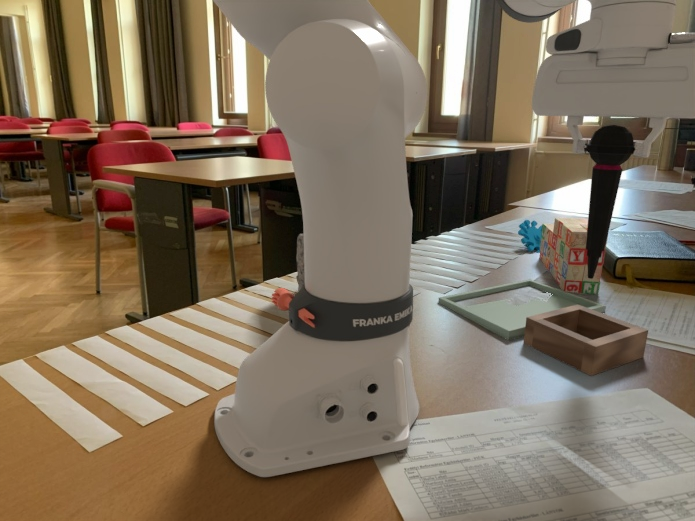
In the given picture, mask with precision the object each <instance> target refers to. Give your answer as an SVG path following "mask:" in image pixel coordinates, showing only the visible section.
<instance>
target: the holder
mask: <svg viewBox="0 0 695 521" xmlns="http://www.w3.org/2000/svg"><path fill="white" fill-rule="evenodd" d="M648 334H649V329H647V328H643V327H640V326H638V325H635V324H632V323H629V322H627V321H624V320H622V319H619V318H616V317H613V316H611V315H608V314H606V313H605V314H603V313H600V312H597V311H595V310H592V309H589V308H586V307H584V306H581V305H578V304H577V305H573V306H569V307H565V308H561V309H557V310H553V311H549V312H545V313H541V314H537V315H533V316H529V317H526V326H525V335H524V336H523V344H525V345H527V346H529V347H531V348H532V349H535V350H537V351H539V352H541V353H543V354H545V355H548V356H549V357H552V358H554V359H556V360H558V361H560V362H562V363H564V364H566V365H568V366H570V367H572V368H574V369H576V370H578V371H580V372H582V373H583V374H584V373H585V374H587V375H589V376H591V377H592V376H595V375H597V374H600V373H603V372H606V371H609V370H612V369H614V368H617V367H619V366H623V365H626V364H628V363H631V362H634V361H636V360H637V361H638V360H639V359H642V358H644V356H645V352H646V346H647V340H648Z"/></svg>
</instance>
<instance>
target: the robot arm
mask: <svg viewBox="0 0 695 521" xmlns="http://www.w3.org/2000/svg"><path fill="white" fill-rule="evenodd" d="M212 1H213V3H214V4H215V5H216V7H218V9H219V10H220V11H221V12H222V14H223V16H225V18H226V19H227V20H228V22H229V23H230V24H231V25H232V27H233V28H234V29H235V31H236V32H237V33H238V34H239V35H240V36H241V37H242V38H243V39H244V40H245V41H247V42H248V43H249V44H250V45H251V46H253V47H254V48H255V49H256V50H258V51H259V52H260V53H261V54H262V55H263V56H265V57H266V58H267V59H268V60H269V62H268V64H267V65H268V66H267V68H266V74H265V80H264V81H265V84H264V86H265V89H264V90H265V98H266V103H267V108H268V110H269V112H270V114H271V116H272V119H273V121H274V123H275V124H276V125H277V127H278V129H279V130H280V131H281V133H282V134H283V136H284V139H285V141H286V145H287V148H288V151H289V154H290V155H289V156H290V161H291V164H292V167H293V172H294V177H295V180H296V185H297V190H298V195H299V199H300V206H301V212H302V213H301V214H302V222H303V226H302V227H303V233H304V270H305V282H304V283H303V285H302V286H301V288H300V291H299V292H298V291H297V293H296V294H295V295H294V294H293V293H291V292H289V290H288V289H286V288H284V287H279V288H276V289H275V290H273V293H272V294H271V296H272V297H271V298H270V299H271V302H272V303H273V304H274V306H277V307H278V309H279V310H281V311H283V312H284V311H288V321H287V322H286V323H284V324H283V325H282V326H281V327H280V328H279V329H278V330H276V331H275V332H274V333H273V334H272V335H271V336H270V337H269V338H267V340H266V341H264V342H263V343H262V344H261V345H259V346H258V347H257V348H256V349H255V350H254V351H252V352H251V353H250V354H249V355H248V356H246V358H244V359H243V360H242V362H241V364H240V365H239V369H238V373H237V377H236V381H235V388H234V389H235V390H234V393H232V394H230V395H227V396H224V397H222V398H221V399H220V400H219V401H218V403H217V405H216V407H215V409H214V418H213V420H214V421H213V423H214V431H215V433H216V436H217V439H218V441H219V443H220V445H221V447H222V448H223V450H224V452H225V453H226V454H227V455H228V457H229V458H230V459H231V460H232V461H233V462H234V463H235V464H236V465H237V466H238V467H240V468H241V469H243V470H244V471H247V472H248V473H250V474H252V475H254V476H257V477H259V478H270V477H275V476H279V475H285V474H289V473H295V472H301V471H303V470H309V469H315V468H319V467H324V466H328V465H333V464H339V463H344V462H350V461H354V460H359V459H363V458H368V457H373V456H377V455H383V454H384V455H385V454H388V453H391V452H392V453H393V452H397V451H401V450H405V449H407V448H408V447H409V446H410V444H411V432H410V431H411V427H412V426H413V424H414V423H415V421H416V419H417V418H418V415H419V412H420V404H419V403H420V402H419V399H418V396H417V392H416V387H415V384H414V378H413V372H412V371H413V370H412V362H411V352H410V351H411V350H410V349H411V348H410V329H409V328H410V325H411V324H412V322H413V316H414V288H413V286H412V284H411V282H410V281H411V260H412V259H411V258H412V240H413V239H412V237H413V235H412V233H413V217H414V215H413V209H412V206H411V200H410V191H409V183H408V181H409V180H408V172H407V170H408V169H407V154H406V138H407V137H408V136H410V134H411V133H412V132H413V131H414V130H415V129H416V127H417V126H418V125H419V124H420V122H421V120H422V118H423V116H424V114H425V111H426V106H427V102H428V82H427V79H426V75H425V73H424V70H423V68H422V66H421V64H420V63H419V61H418V59H417V58H416V57H415V55H414V54H413V53H412V52H411V51H410V50H409V48H408V47H407V46H406V45H405V43H404V42H403V41H402V39H401V38H400V37H399V36H398V35H397V33H396V31H394V30H393V29H392V27H391V26H390V25H389V24H388V23H387V21H386V20H385V19H384V17H382V15H381V14H380V13H379V12H378V10H377V9H376V8H375V7H374V6H373V5H372V4H371V2H370V1H369V0H212ZM495 1H496V2H497V4H498V5H499V7H500V8H501V10H502V11H503V12H504V13H505V14H507V16H509V17H510V18H512V19H513V20H515V21H518V22H521V23H531V24H532V23H539V22H542V21H544V20H546V19H549V18H551V17H553V15H555V14H556V13H558V12H559V11H560V10H561V9H563V8H565V7H567V6H569V5H571V4H572V3H575V2H576V1H577V0H495ZM587 1H588V2H589V3H590V6H591V7H590V15H589V20H586V21H584V22H581V23H579V24H577V25H575V26H574V25H573V26H572V27H569V28H567V29H564V30H561V31H559V32H557V33H553V34H552V35H550V36H548V38H547V39H546V43H545V51H546V52H547V53H548V54H549V55H550V56H547V57H546V58H545V59H544V60H543V61H542V62H541V64H540V66H539V68H538V71H537V72H536V73H537V74H536V77H535V82H534V86H533V93H532V97H531V98H532V99H531V109H532V111H533V112H534V114H535V115H536V116H542V117H567V120H566V127H567V129H568V132H569V134H570V136H571V138H572V148H571V152H572V154H581V155H583V154H584V155H585V154H588V152H587V151H586V145H587V144H589V143H590V139H587V138H586V139H584V138H583V135H582V133H581V131H580V127H579V126H583V124H584V117H594V118H595V117H599V118H601V117H603V118H608V117H609V118H648V119H649V124H648V128H650V129H651V128H652V130H651V132H650V133H649V134H648V135H647V137H646V138H645V139H644V140H643V141H636V142H634V146H635V149H636V150H635V151H634V154H632V155H633V157H635V158H649V157H650V155H651V149H652V143H653V142H655V141H656V139H657V138H658V137H659V136H660V135H661V133H662V132H663V131H664V130H665V129H666V124H667V119H695V32H677V33H672V29H673V25H674V20H675V13H676V8H677V0H587ZM247 42H246V43H247Z"/></svg>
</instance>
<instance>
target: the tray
mask: <svg viewBox="0 0 695 521" xmlns="http://www.w3.org/2000/svg"><path fill="white" fill-rule="evenodd" d="M528 286H531V287H533V288H536V289H538V290H539V291H542V292H545V291H546V292H548V293H551V295H552V294H553V295H552V296H551V297H550V298H549V299H548V301H547V303H546V302H545V301H544V303H543V302H542V301H543V299H542V301H540V299H539V301H538V298H537V299H536V301H535V299H533V302H532V301H531V300H532V299H531V300H530V302H529V301H528V304H526V303H525V304H526V305H525V304H523V305H522V304H521V305H519V306H518V305H517V306H516V305H514V306H513V305H512V306H511V305H510V304H509V305H508V304H507V301H508V300H509V299H511V298H512V297H510V298H504V299H500V300H494V301H488V302H483V303H477V304H472V305H467V306H463V305H461V304H459V303H456V302H457V301H462V300H466V299H472V298H475V297H480V296H486V295H490V294H494V293H495V294H496V293H499V292H500V293H501V292H504V291H509V290H513V289H519V288H523V287H528ZM549 296H550V295H549ZM535 298H536V297H535ZM547 298H548V297H547ZM545 300H546V299H545ZM437 301H438V303H439V304H441V305H442V306H444V307H446V308H448V309H450V310H452V311H453V312H455V313H457V314H459V315H461V316H462V317H464V318H465V319H467V320H470V321H471V322H474V323H475V324H477V325H479V326H481V327H483V328H484V329H486V330H487V331H490V332H492V333H493V334H495V333H496V335H497V334H498V335H497V336H499V335H500V336H499V337H501V336H502V337H501V338H503V337H504V338H506V339H507V340H506V339H505V340H506V341H508V340H509V341H511V340H510V339H512V340H515V339H514V338H516V339H519V338H523V337H524V335H525V326H526V317H529V316H533V315H537V314H541V313H545V312H549V311H553V310H557V309H561V308H565V307H569V306H573V305H577V304H578V305H581V306H584V307H586V308H589V309H592V310H595V311H597V312H600V313H605V314H606V309H607V305H605V304H603V303H600V302H597V301H593V300H591V299H588V298H585V297H582V296H579V295H577V294H573V293H572V292H565V291H562V289H561V288H560V289H559V288H556V287H553V286H550V285H547V284H546V283H542V282H539V281H536V280H533V279H531V278H529V279H524V280H519V281H514V282H509V283H504V284H500V285H498V284H497V285H494V286H489V287H485V288H480V289H475V290H470V291H465V292H460V293H459V292H458V293H454V294H450V295H449V294H448V295H446V296H445V295H444V296H440V297H438V300H437ZM522 336H523V337H522ZM518 337H519V338H518ZM504 338H503V339H504Z"/></svg>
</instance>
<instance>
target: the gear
mask: <svg viewBox="0 0 695 521" xmlns="http://www.w3.org/2000/svg"><path fill="white" fill-rule="evenodd" d="M537 225H538V221H536V220H532V221H530V220H529V219H525V220H524V221H523V222H521V223H520V224H519V225H518V228H519V230H518V232H517V235H519V236H521V237H522V238H520V242H521V244H522V245H523V246H524V247H526V249H527V251H528V252H530V253H532V251H534V250H535V249H536V250H537V251H536V253H537V254H540V246H541V238H542V237H541V233H542V225H540V226H539V227H538V228H537V227H536V226H537Z"/></svg>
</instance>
